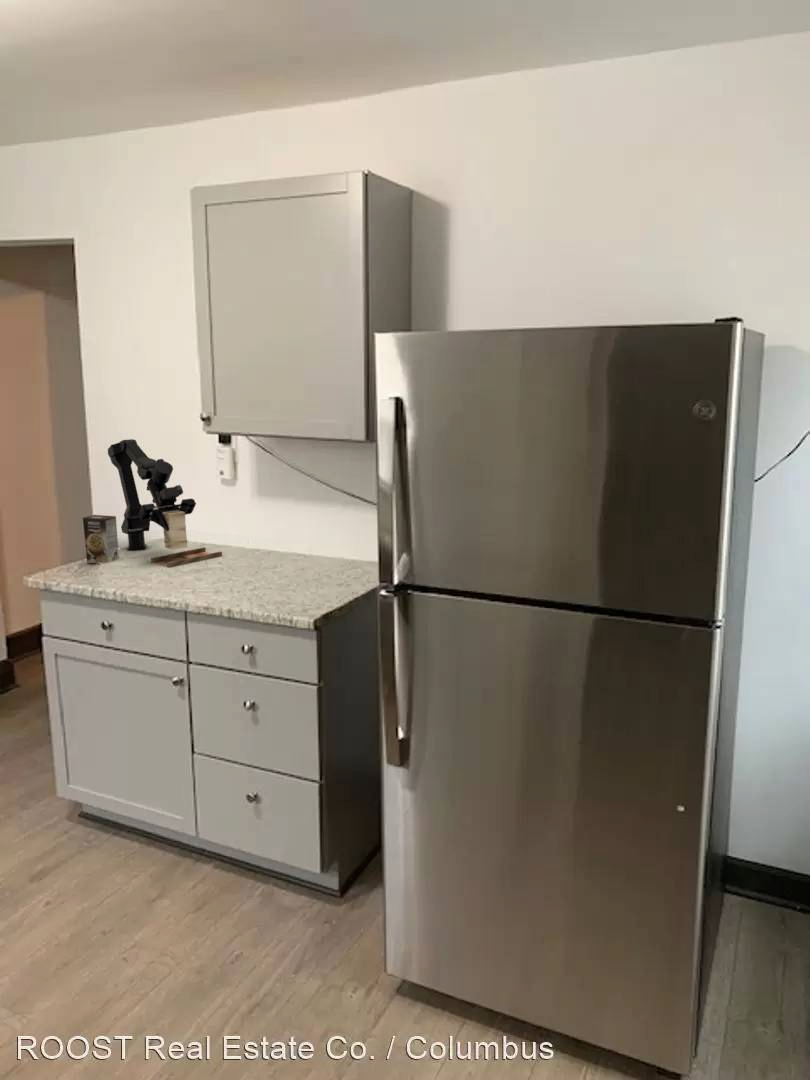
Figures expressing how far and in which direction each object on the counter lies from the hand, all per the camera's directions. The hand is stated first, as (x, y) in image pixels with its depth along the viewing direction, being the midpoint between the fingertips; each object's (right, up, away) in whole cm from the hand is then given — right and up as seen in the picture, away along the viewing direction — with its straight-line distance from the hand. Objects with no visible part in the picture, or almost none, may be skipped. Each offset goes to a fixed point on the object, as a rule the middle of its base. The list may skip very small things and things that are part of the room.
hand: (176, 529), depth 281 cm
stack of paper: (-1, -6, +2) cm, 7 cm away
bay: (+2, -11, +7) cm, 13 cm away
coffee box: (-27, -12, +8) cm, 31 cm away
